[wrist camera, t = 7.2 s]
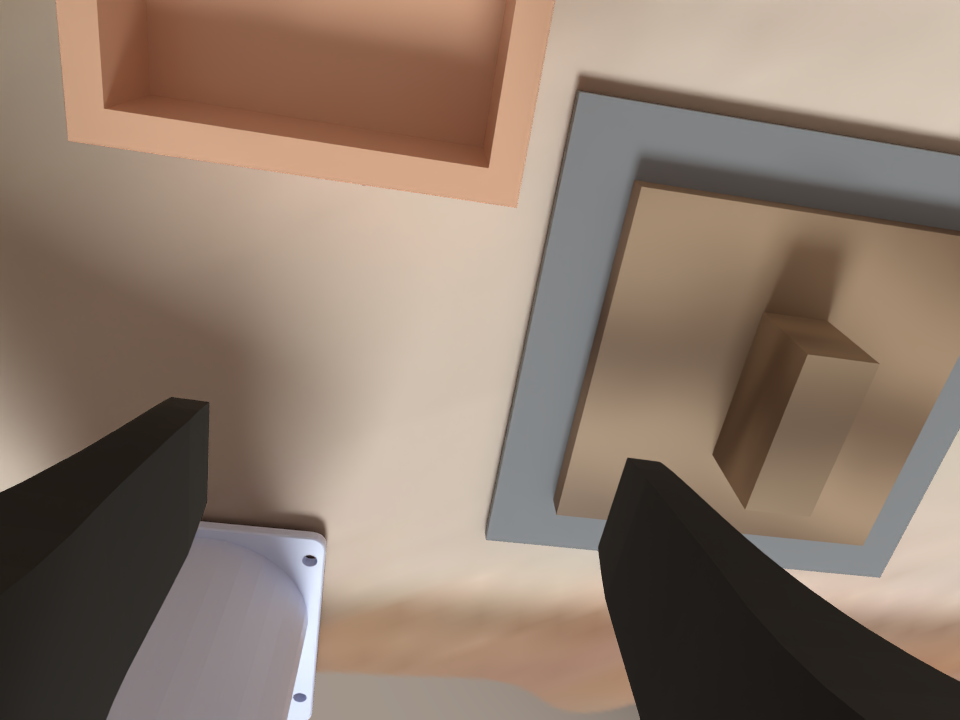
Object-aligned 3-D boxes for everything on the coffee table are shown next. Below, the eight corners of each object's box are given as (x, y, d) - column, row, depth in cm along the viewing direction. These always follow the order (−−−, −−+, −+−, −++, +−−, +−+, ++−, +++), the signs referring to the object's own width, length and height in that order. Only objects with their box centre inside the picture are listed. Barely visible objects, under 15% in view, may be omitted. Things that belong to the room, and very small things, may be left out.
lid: (851, 530, 26) (909, 606, 22) (552, 499, 24) (569, 575, 21) (996, 236, 21) (1096, 278, 18) (634, 180, 20) (671, 214, 16)
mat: (874, 570, 27) (879, 577, 27) (485, 532, 25) (485, 540, 25) (1081, 175, 21) (1093, 178, 20) (577, 90, 19) (579, 91, 19)
